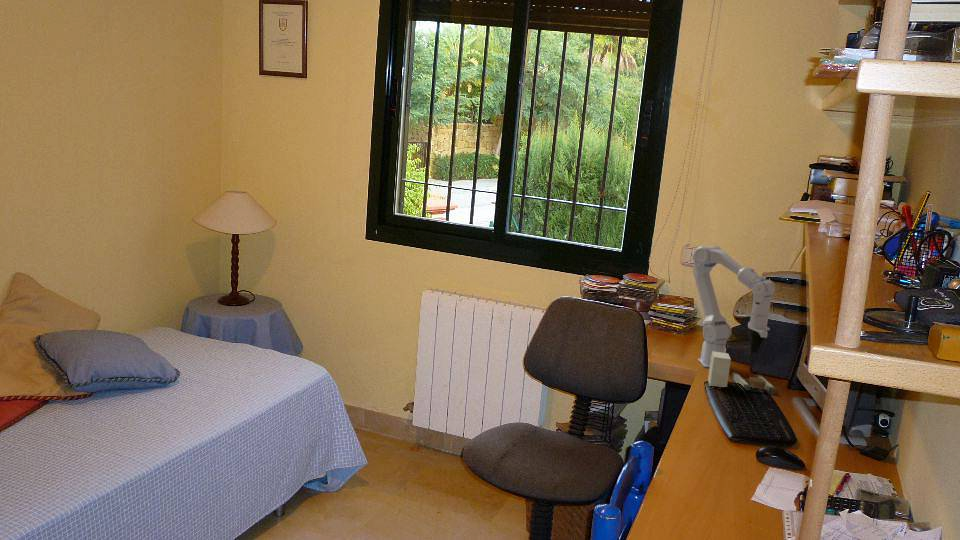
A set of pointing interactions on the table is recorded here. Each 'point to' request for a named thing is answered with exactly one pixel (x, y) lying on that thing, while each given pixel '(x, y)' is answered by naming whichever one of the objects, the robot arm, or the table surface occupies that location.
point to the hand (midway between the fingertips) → (753, 352)
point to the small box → (719, 369)
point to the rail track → (743, 382)
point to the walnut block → (757, 383)
